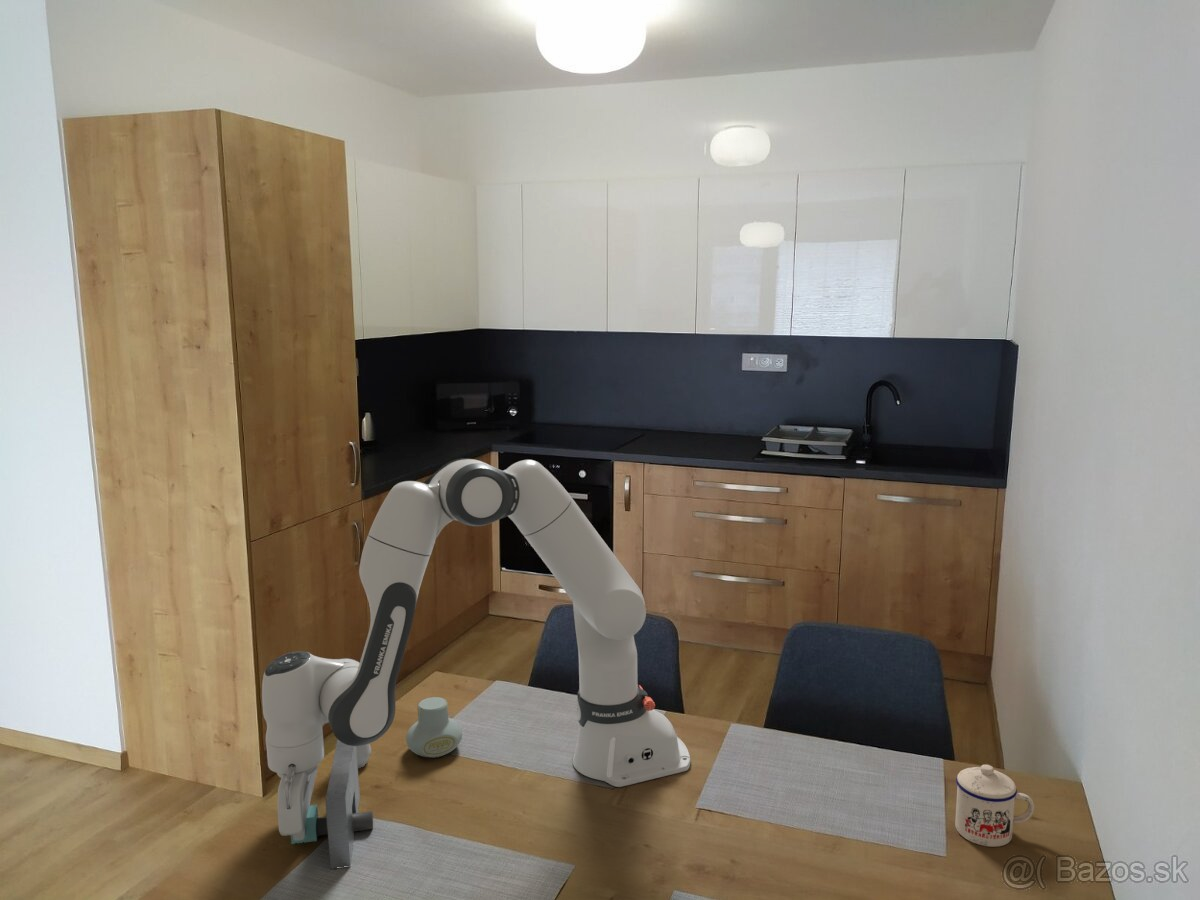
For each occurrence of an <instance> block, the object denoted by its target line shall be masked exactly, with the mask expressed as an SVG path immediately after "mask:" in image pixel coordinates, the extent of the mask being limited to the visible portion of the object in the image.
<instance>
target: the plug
mask: <svg viewBox="0 0 1200 900" xmlns="http://www.w3.org/2000/svg"><path fill="white" fill-rule="evenodd" d="M352 816H353V829H354V832H358V831H367V830H372V829H374V812H373V810H370V811H363V812H358V813H353V814H352ZM305 828H306V834H305V838H304V839H303V840H298V841H295V840H294V839H293V835H290V843H291V845H296V844H295V843H297V844H304V843H310V842H317V841H318V837H320V836H328V828H327V816H324V817H321V816H320V817H319V809H318V804H312V805H311V804H310V806H309V809H308V814H307V818H306V822H305ZM303 842H304V843H303Z"/></svg>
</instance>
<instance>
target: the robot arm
mask: <svg viewBox="0 0 1200 900" xmlns="http://www.w3.org/2000/svg"><path fill="white" fill-rule="evenodd" d="M506 517H508V519H510V520H511V521H512V522H513V524H514V525H515V526H516V527H517V529H518V530H519V532H520V533H521V535H522V536H523V537H524V538H525V539H526V540H527V542H528V544H530V546H531V547H532V549H534V551H535V552H536V554H537V555H538V557H539V558H540V559H541V560H542V562H543V563H544V564H545V566H546V568H548V569H549V571H550V573H552V575H553V577H554V578H555V579H556V581H557V582H558V584H559V585H560V586H561V588H562V589H563V590H564V592H565V593H566V595H567V596H568V598H569V599H570V600H571V601H572V607H573V618H574V627H575V634H576V635H575V636H576V643H577V651H578V653H577V654H578V655H577V656H578V675H579V676H578V677H579V678H578V679H579V681H578V684H579V685H578V686H579V689H578V691H577V695H576V696H577V698H576V699H577V700H576V713H577V714H576V717H577V720H578V721H577V722H578V732H577V740H576V746H575V750H574V755H573V757H572V765H573V767H574V768H575V770H576V771H577V772H579V773H580V774H581V775H584V776H585V777H588V778H590V779H594V780H598V781H603V782H605V783H608V784H609V785H611V786H613V787H617V788H622V787H626V786H630V785H634V784H638V783H642V782H646V781H651V780H654V779H658V778H663V777H666V776H670V775H671V776H672V775H675V774H678V773H679V774H680V773H683V772H686V771H688V770H689V768H690V767H691V755H690V751H689V750H688V748H687V745H686V744H685V743H684V742H683V741H682V739H681V738H680V737H678V736H677V732H676V731H675V728H674V726H673V724H672V723H671V721H670V720H669V719H668V718H667V717H666V716H665V715H664V714H662V713H661V712H659V711H657V710H655V708H656V704H655V702H654V700H653V698H652V697H650V696H649V695H648V693H647V691H646V690H645V689H643V687H642V686H641V684H638V651H637V645H636V642H635V635H636V634H637V633H638V632H639V631H640V630H641V629H642V627H643V625H644V624H645V620H646V617H647V607H646V602H645V598H644V596H643V592H642V590H641V589H640V587H639V586H638V585H637V583H636V582H635V581H634V579H633V578H632V576H631V575H630V574H629V572H628V571H627V570H626V568H625V567H624V566H623V565H622V563H621V562H620V560H619V559H618V558H617V556H616V555H615V554H614V553H613V551H612V550H611V548H610V547H609V546H608V544H607V543H606V542H605V540H604V539H603V538H602V537H601V536H602V535H600V534H599V533H598V531H597V530H596V528H595V527H594V525H592V523H591V522H590V521H589V519H588V517H587V516H586V514H585V513H584V512H583V511H582V510H581V508H580V506H579V505H578V504H577V503H576V501H575V499H573V497H572V496H571V495H570V493H569V492H568V491H567V490H566V489H565V487H564V486H563V484H561V482H559V480H558V479H557V478H556V476H554V475H553V474H552V473H551V472H550V471H549V470H548V469H547V468H546V467H544V465H543V464H542V463H540V462H539V461H538V460H537V461H536V460H533V459H523V460H519V461H517V462H514V463H512V464H511V465H510V466H508V467H507V468H506V469H504V470H502V469H499V468H497V467H495V466H492V465H490V464H488V463H486V462H484V461H482V460H477V459H473V458H464V457H463V458H461V457H460V458H456V459H453V460H450V461H448V462H446V463H445V464H443V465H441V467H440V468H438V470H436V471H435V472H434V473H433V474H432V475H431V476H429V477H428V478H427V479H426V480H425V481H424V482H421V481H415V480H405V481H400V482H398V483H396V484H395V485H393V487H392V488H391V489H390V491H389V492H388V493H387V495H386V497H385V498H384V500H383V502H382V504H381V506H380V507H379V509H378V511H377V513H376V516H375V518H374V520H373V522H372V525H371V526H370V529H369V531H368V535H367V536H366V540H365V542H364V545H363V549H362V553H361V557H360V561H359V562H360V563H359V569H358V574H359V578H360V582H361V584H362V587H363V589H364V592H365V595H366V597H367V602H368V607H369V613H370V625H369V630H368V633H367V637H366V640H365V645H364V647H363V651H362V654H361V656H360V661H358V660H356V659H354V658H348V657H346V658H345V657H343V658H341V657H340V658H334V659H333V658H325V657H320V656H316V655H313V654H312V653H310V652H308V651H304V650H299V651H291V652H287V653H285V654H282V655H279V656H278V657H276V658H274V660H272V661H271V662H270V663H268V665H267V666H266V668H265V670H264V673H263V677H262V683H261V699H262V700H261V701H262V715H263V718H264V720H265V723H266V733H265V745H266V758H267V766H268V769H269V770H270V771H272V772H273V773H276V775H277V776H278V778H280V782H279V784H278V789H277V798H276V799H277V806H276V807H277V821H278V822H277V823H278V831H279V834H280V835H281V836H282V837H283V836H291V835H293V839H294V840H295V841H298V840H303V839H304V838H305V834H306V828H305V822H306V818H307V814H308V809H309V806H310V805H311V799H312V795H313V792H314V787H315V782H316V778H317V773H318V771H319V770H318V768H319V765H320V763H322V761H323V760H324V758H325V745H324V735H323V734H324V733H323V727H324V726H325V724H329V727H330V728H331V730H332V733H333V734H334V736H335V737H336V739H338V740H339V741H341V742H342V743H344V744H346V745H350V746H362V745H366V744H369V743H370V744H371V743H373V742H375V741H377V740H379V739H380V738H381V737H383V736H384V735H385V734H386V732H387V731H389V729H390V728H391V725H392V724H393V722H394V719H395V716H396V685H397V680H398V676H399V672H400V669H401V665H402V662H403V658H404V655H405V651H406V648H407V644H408V640H409V637H410V632H411V629H412V627H413V626H412V625H413V621H414V618H415V612H416V608H417V607H416V606H417V602H418V597H419V594H420V589H421V586H422V582H423V578H424V576H425V572H426V570H427V567H428V563H429V560H430V558H431V556H432V552H433V549H434V546H435V543H436V539H437V538H438V537H439V535H440V533H441V531H442V530H443V529H444V528H445V527H446V526H447V525H448V524H449V523H452V522H453V521H457V522H459V523H461V524H463V525H466V526H471V527H483V526H487V525H490V524H493V523H495V522H497V521H499V520H502V519H504V518H506Z"/></svg>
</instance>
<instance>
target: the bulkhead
mask: <svg viewBox="0 0 1200 900" xmlns="http://www.w3.org/2000/svg"><path fill="white" fill-rule="evenodd" d="M336 739H337V738H336ZM359 780H360V779H359V768H358V765H357V752H356V746H350V745H346V744H344V743H342V742H341V741H339V740H338V739H337V741H336V744H335V751H334V755H333V760H332V765H331V770H330V775H329V780H328V785H327V789H326V794H325V801H324V803H325V813H326V814H325V815H326V816H325V817H327V828H328V835H327V839H328V851H329V862H330V864H329V865H330V869H331V868H337V867H344V866H350V865H351V866H352V860H351V857H353V852H352V850H353V851H354V845H353V843H355V833H354V832H355V831H354V829H353V816H352V814H353V813H359V806H360V805H359V804H360V798H361V796H360V793H361V792H360V781H359Z"/></svg>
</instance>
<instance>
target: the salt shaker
mask: <svg viewBox="0 0 1200 900" xmlns="http://www.w3.org/2000/svg"><path fill="white" fill-rule="evenodd" d="M356 752H357V765H358V769H362V768H364V767H365V766H366V765H367V763H368V761H369V758H370V756H371V754H372V747H371V743H369V744H366V745H362V746H356ZM365 764H366V765H365ZM361 767H362V768H361Z"/></svg>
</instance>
